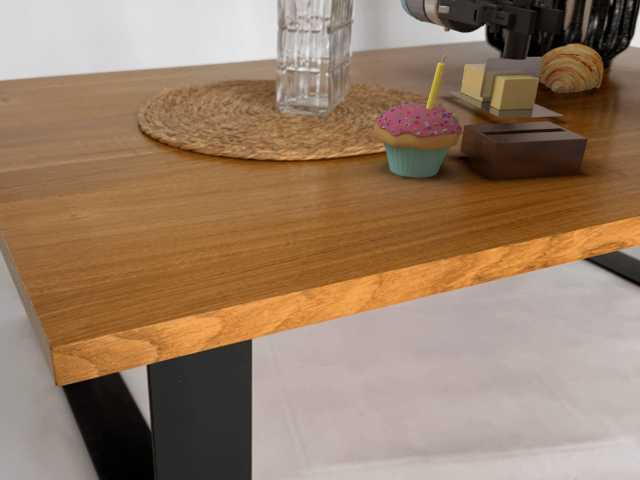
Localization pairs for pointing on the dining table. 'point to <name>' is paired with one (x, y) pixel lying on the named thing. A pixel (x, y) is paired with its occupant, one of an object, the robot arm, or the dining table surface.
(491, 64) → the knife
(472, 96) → the butter board
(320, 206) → the dining table surface
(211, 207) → the dining table surface
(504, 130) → the knife block
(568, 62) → the croissant
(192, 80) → the dining table surface
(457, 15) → the robot arm
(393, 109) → the cupcake
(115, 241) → the dining table surface
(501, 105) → the butter pat
